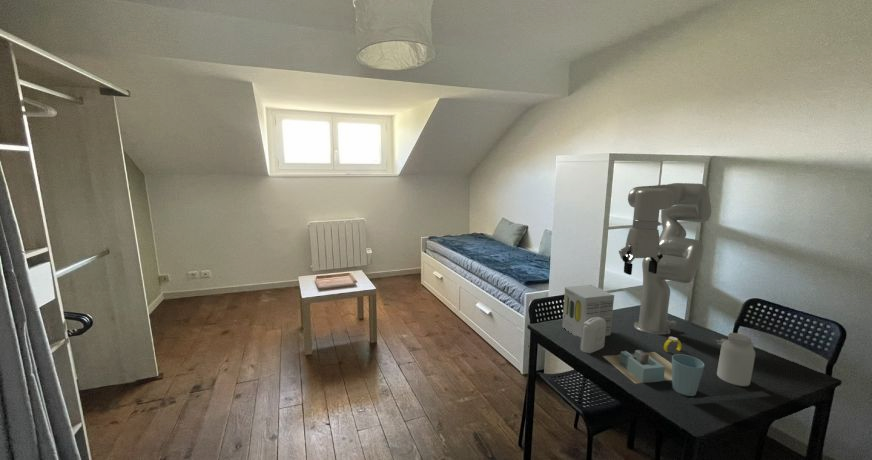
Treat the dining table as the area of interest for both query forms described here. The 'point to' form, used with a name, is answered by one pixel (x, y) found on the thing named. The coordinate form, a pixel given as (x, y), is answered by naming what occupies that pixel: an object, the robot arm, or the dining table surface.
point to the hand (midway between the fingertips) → (639, 273)
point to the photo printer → (593, 335)
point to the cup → (686, 374)
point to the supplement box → (586, 307)
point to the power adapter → (726, 340)
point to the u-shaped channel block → (642, 367)
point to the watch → (672, 339)
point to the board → (652, 354)
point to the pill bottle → (736, 360)
